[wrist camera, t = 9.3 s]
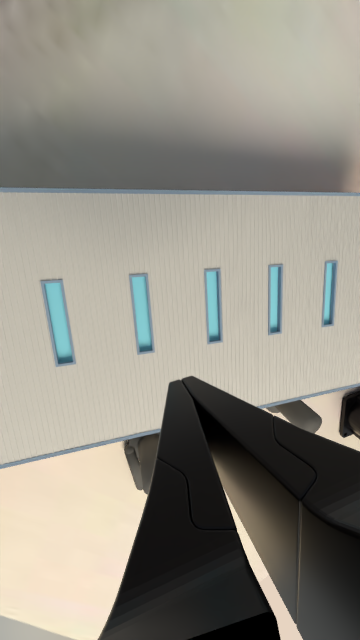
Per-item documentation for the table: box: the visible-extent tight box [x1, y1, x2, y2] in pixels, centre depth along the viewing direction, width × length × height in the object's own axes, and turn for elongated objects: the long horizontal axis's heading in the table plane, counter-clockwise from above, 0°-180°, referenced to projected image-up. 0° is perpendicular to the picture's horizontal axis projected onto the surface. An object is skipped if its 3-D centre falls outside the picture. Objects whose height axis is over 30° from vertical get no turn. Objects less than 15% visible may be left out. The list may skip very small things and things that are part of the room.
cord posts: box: [124, 400, 322, 494], centre depth 25 cm, size 8×24×5 cm, turn 99°
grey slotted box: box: [0, 187, 360, 469], centre depth 18 cm, size 30×14×8 cm, turn 92°
